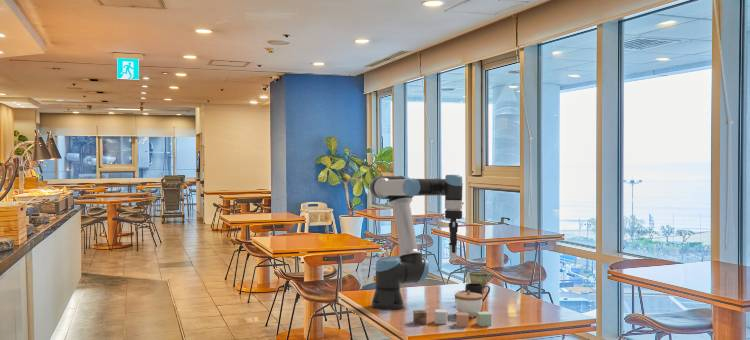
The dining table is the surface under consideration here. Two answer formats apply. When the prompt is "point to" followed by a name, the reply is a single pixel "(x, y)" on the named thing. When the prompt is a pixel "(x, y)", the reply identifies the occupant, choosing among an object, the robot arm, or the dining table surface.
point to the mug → (477, 289)
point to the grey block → (441, 316)
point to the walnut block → (419, 317)
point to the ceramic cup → (479, 277)
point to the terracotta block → (462, 319)
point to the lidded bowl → (468, 302)
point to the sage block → (483, 318)
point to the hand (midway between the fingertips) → (453, 258)
